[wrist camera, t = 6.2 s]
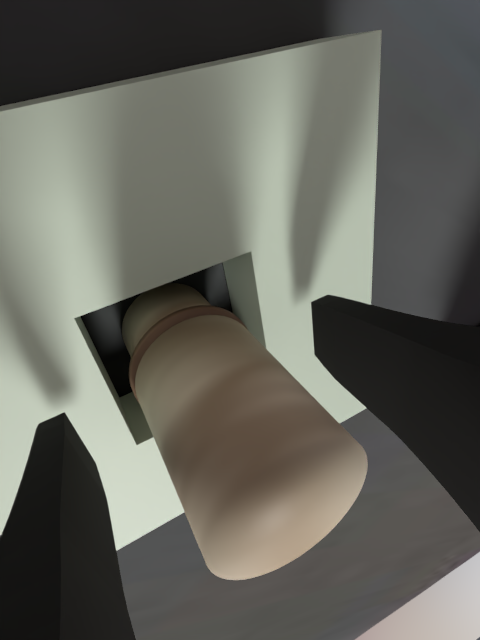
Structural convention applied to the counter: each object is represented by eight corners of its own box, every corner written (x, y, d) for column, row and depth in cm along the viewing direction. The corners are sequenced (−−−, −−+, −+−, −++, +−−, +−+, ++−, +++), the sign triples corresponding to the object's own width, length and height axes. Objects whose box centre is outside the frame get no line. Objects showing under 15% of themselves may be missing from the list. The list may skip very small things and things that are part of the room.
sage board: (320, 38, 12) (381, 29, 10) (332, 376, 20) (366, 407, 18) (-266, 162, 8) (-355, 187, 6) (47, 525, 16) (53, 586, 14)
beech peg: (204, 256, 13) (370, 401, 7) (227, 343, 16) (368, 510, 10) (92, 300, 12) (176, 514, 6) (134, 387, 15) (226, 607, 8)
